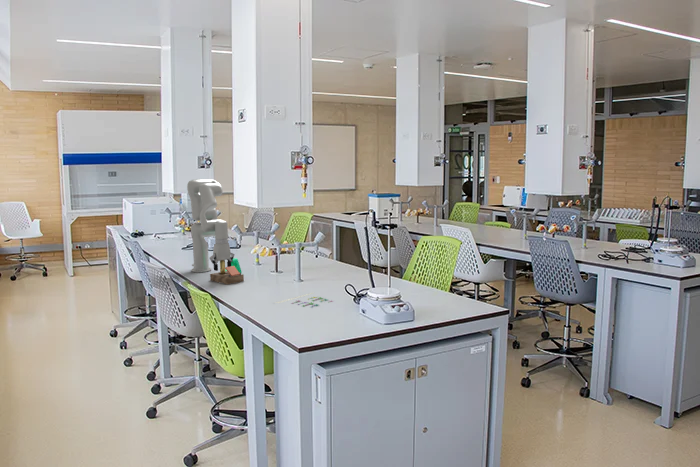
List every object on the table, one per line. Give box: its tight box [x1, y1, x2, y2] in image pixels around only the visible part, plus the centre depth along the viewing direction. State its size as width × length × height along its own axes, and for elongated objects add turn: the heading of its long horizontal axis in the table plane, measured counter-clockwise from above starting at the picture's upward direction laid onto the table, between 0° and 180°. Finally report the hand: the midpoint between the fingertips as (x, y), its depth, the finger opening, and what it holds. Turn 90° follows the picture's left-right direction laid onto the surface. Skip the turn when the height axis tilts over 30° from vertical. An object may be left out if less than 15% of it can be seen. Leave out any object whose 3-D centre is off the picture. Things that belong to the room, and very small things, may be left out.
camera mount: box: [225, 257, 243, 274], centre depth 361 cm, size 12×8×10 cm, turn 39°
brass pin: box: [219, 260, 226, 274], centre depth 345 cm, size 3×3×12 cm
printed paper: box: [274, 292, 334, 308], centre depth 290 cm, size 30×30×2 cm
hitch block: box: [209, 271, 245, 285], centre depth 342 cm, size 17×12×5 cm
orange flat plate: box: [225, 266, 240, 276], centre depth 338 cm, size 7×6×1 cm
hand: (222, 269), depth 345 cm, fingers open, 9 cm apart
